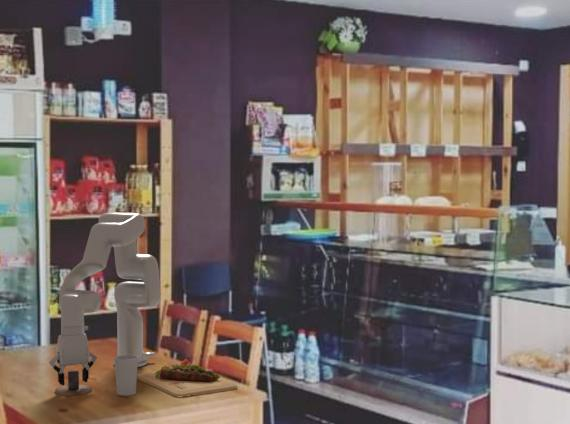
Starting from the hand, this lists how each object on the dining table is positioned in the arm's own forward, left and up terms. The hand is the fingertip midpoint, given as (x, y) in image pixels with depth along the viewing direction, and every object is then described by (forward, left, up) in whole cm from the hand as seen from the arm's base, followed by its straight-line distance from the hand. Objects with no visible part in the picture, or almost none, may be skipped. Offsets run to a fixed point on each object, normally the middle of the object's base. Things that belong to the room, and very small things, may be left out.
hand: (73, 382), depth 309 cm
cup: (-14, +12, -3) cm, 19 cm away
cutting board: (-37, +9, -4) cm, 38 cm away
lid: (0, 0, -3) cm, 3 cm away
